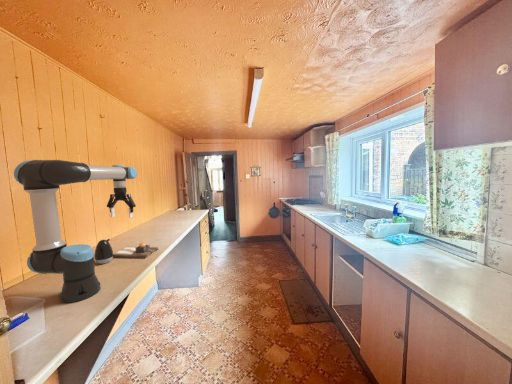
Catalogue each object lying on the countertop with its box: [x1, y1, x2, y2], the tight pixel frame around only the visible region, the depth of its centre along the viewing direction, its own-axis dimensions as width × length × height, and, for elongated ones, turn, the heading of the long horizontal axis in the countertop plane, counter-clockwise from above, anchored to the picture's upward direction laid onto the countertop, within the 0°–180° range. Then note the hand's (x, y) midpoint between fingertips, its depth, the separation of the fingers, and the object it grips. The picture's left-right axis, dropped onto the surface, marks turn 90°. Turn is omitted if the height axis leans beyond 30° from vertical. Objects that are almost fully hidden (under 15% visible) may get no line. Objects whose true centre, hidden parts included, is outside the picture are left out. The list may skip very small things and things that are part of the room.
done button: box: [138, 242, 147, 248], centre depth 150 cm, size 4×4×3 cm
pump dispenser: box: [94, 238, 114, 265], centre depth 137 cm, size 10×10×15 cm
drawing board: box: [112, 244, 159, 259], centre depth 151 cm, size 16×25×6 cm, turn 85°
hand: (122, 217), depth 147 cm, fingers open, 13 cm apart
